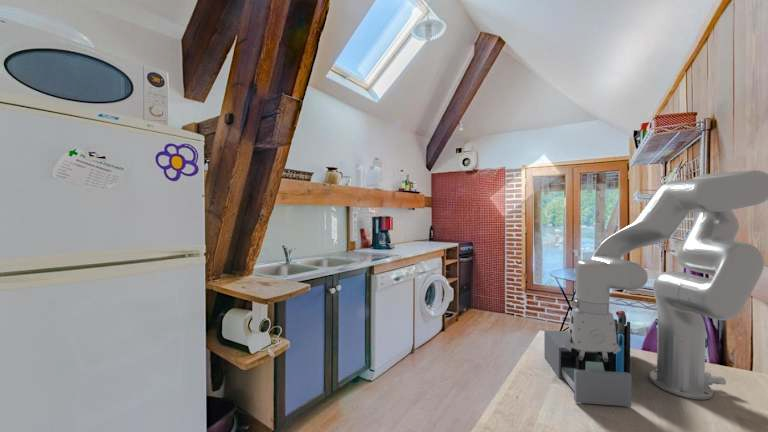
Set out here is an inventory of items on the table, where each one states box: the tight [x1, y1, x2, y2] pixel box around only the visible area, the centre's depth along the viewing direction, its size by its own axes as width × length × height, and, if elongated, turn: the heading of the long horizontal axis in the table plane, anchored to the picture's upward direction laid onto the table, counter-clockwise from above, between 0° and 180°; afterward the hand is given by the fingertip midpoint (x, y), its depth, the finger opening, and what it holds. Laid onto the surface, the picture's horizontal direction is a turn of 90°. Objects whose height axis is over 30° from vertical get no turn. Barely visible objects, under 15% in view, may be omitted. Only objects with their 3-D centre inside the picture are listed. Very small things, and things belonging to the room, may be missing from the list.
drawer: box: [561, 367, 632, 407], centre depth 84 cm, size 13×13×8 cm
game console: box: [606, 310, 631, 374], centre depth 95 cm, size 28×6×15 cm, turn 141°
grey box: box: [543, 330, 598, 380], centre depth 95 cm, size 12×12×9 cm
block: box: [585, 361, 604, 371], centre depth 82 cm, size 4×4×5 cm
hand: (590, 372), depth 83 cm, fingers closed on block, 4 cm apart
